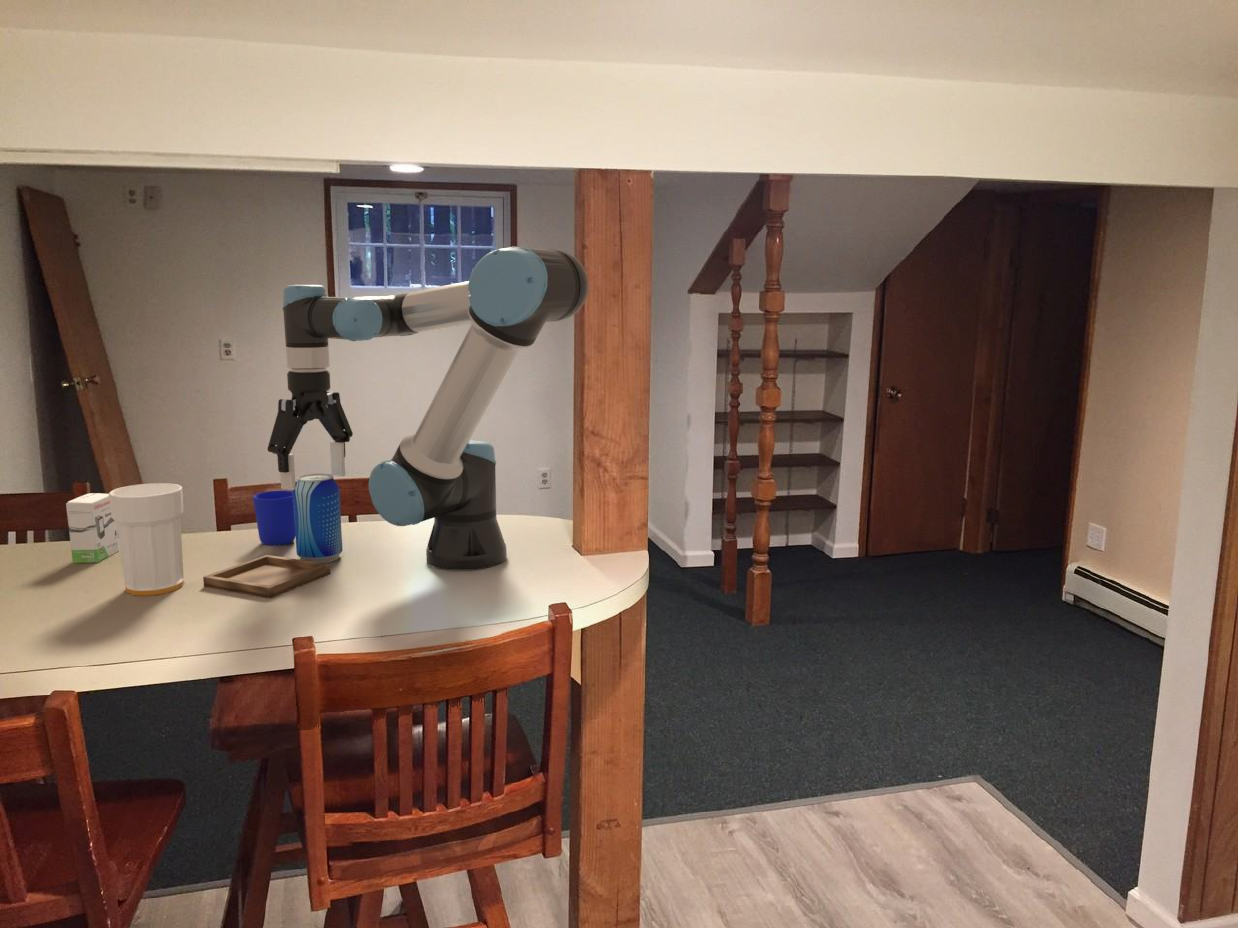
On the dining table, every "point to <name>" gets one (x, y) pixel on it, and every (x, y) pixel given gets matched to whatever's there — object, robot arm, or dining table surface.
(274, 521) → the mug
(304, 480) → the beer can
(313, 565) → the tray
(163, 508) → the cup
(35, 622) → the dining table surface
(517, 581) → the dining table surface
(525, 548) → the dining table surface
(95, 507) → the ink box
